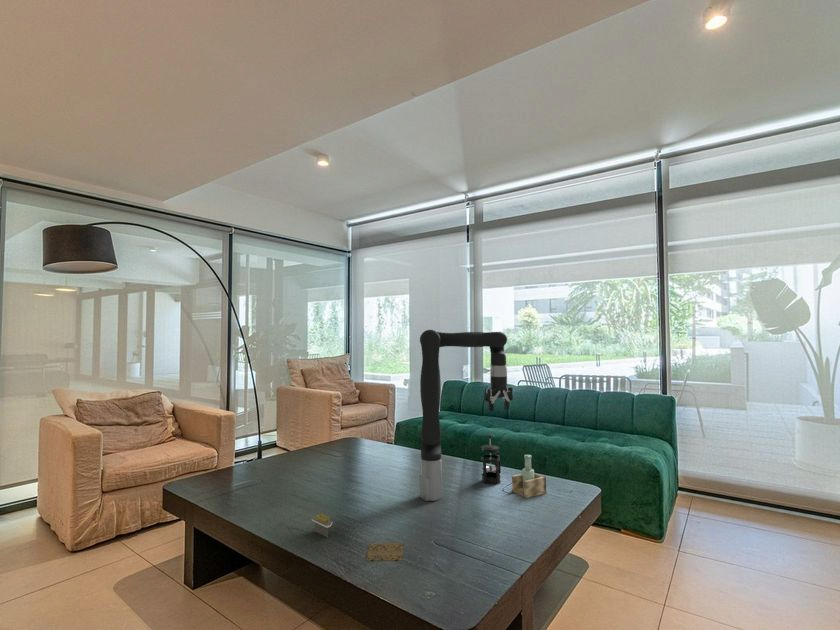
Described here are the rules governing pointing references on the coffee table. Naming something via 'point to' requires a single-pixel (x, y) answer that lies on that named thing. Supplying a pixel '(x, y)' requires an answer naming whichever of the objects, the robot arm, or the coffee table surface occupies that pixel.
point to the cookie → (385, 552)
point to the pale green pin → (527, 469)
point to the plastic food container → (322, 524)
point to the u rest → (529, 485)
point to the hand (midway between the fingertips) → (499, 410)
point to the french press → (490, 472)
